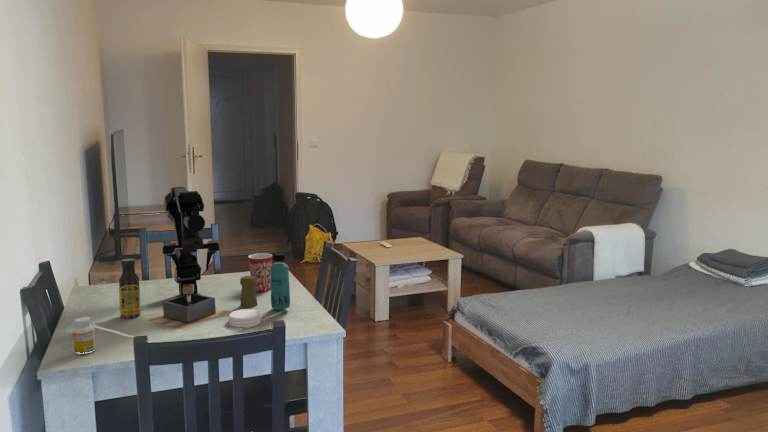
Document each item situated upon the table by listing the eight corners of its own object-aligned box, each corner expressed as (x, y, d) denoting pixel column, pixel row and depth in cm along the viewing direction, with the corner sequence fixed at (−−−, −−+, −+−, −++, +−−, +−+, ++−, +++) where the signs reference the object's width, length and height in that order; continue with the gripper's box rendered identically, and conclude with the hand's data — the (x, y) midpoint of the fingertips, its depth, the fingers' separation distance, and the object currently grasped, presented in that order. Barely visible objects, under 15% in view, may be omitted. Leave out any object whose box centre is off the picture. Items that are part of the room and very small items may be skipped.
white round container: (234, 318, 190) (233, 308, 190) (264, 318, 190) (263, 308, 189) (224, 329, 180) (224, 318, 180) (256, 329, 180) (255, 318, 179)
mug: (277, 290, 222) (276, 255, 220) (255, 294, 217) (254, 259, 215) (263, 283, 232) (262, 250, 230) (242, 287, 227) (240, 253, 225)
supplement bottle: (80, 348, 165) (77, 316, 164) (99, 348, 166) (96, 315, 164) (71, 356, 160) (67, 322, 159) (91, 355, 160) (87, 321, 159)
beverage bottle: (272, 308, 200) (269, 252, 196) (291, 307, 200) (289, 251, 197) (270, 314, 193) (267, 256, 190) (290, 313, 194) (287, 255, 191)
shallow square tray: (159, 316, 190) (158, 300, 190) (187, 307, 200) (186, 291, 199) (187, 323, 183) (186, 307, 182) (215, 313, 193) (214, 297, 192)
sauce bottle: (121, 322, 187) (116, 262, 184) (120, 316, 193) (115, 258, 190) (142, 319, 190) (138, 260, 187) (141, 313, 196) (136, 256, 193)
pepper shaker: (253, 310, 198) (251, 279, 196) (237, 309, 199) (235, 278, 198) (260, 304, 204) (259, 274, 202) (244, 303, 205) (243, 273, 204)
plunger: (169, 316, 190) (167, 287, 188) (191, 308, 197) (189, 280, 196) (188, 320, 185) (186, 290, 183) (210, 312, 193) (208, 284, 191)
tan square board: (144, 321, 188) (144, 319, 188) (193, 304, 205) (193, 303, 205) (186, 331, 178) (185, 330, 178) (234, 313, 194) (234, 312, 194)
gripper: (158, 232, 190) (162, 278, 192) (217, 229, 194) (220, 274, 197) (163, 227, 201) (166, 270, 203) (218, 224, 205) (221, 267, 207)
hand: (193, 271), depth 202 cm, fingers open, 9 cm apart
